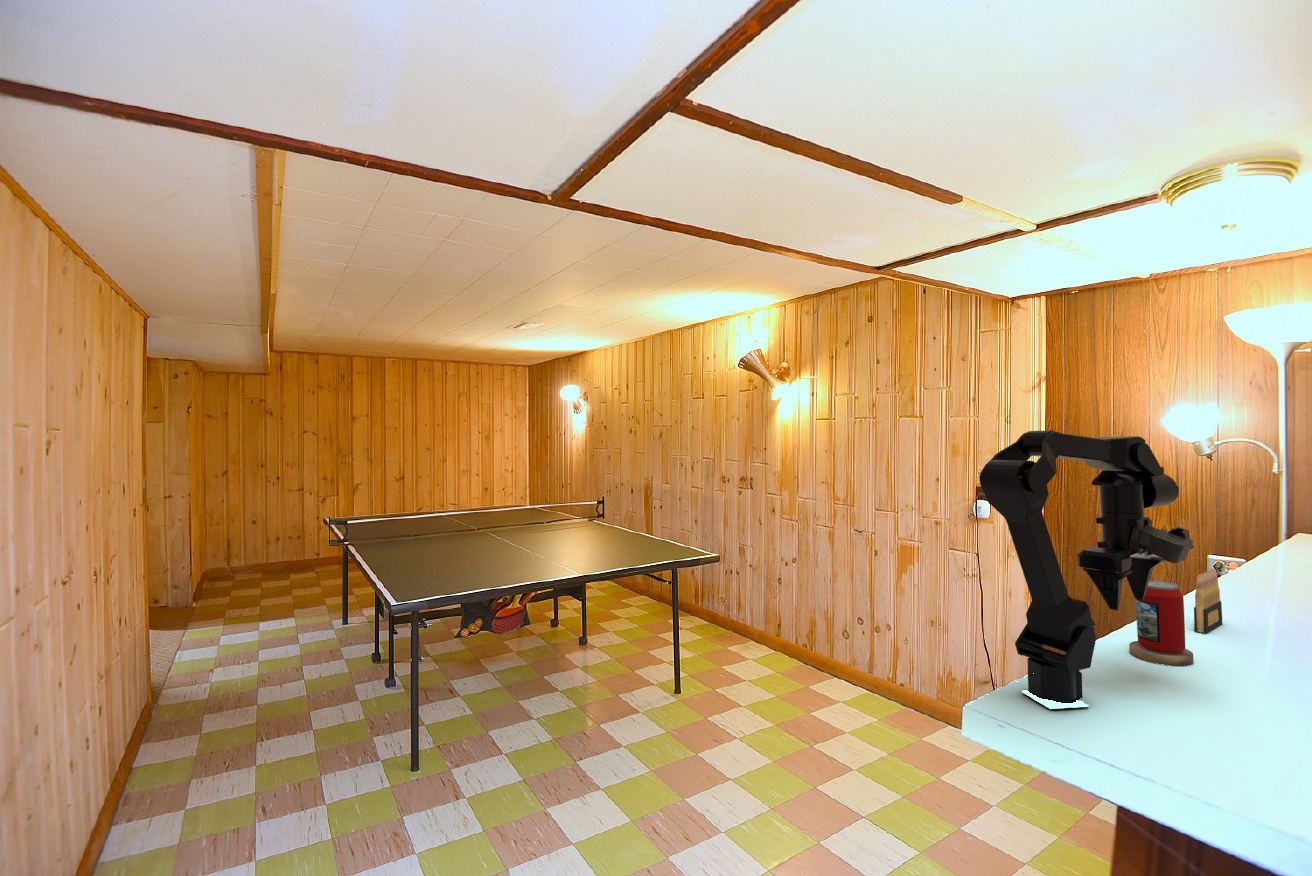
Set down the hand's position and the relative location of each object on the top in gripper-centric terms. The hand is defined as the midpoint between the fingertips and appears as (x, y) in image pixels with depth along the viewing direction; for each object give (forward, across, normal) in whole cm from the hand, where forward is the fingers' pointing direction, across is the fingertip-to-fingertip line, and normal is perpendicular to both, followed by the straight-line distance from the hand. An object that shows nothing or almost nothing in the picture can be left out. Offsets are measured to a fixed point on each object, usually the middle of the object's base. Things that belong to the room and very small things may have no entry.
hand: (1127, 604), depth 99 cm
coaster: (+13, +17, +2) cm, 22 cm away
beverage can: (+12, +17, +2) cm, 21 cm away
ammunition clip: (+14, +44, +3) cm, 47 cm away
